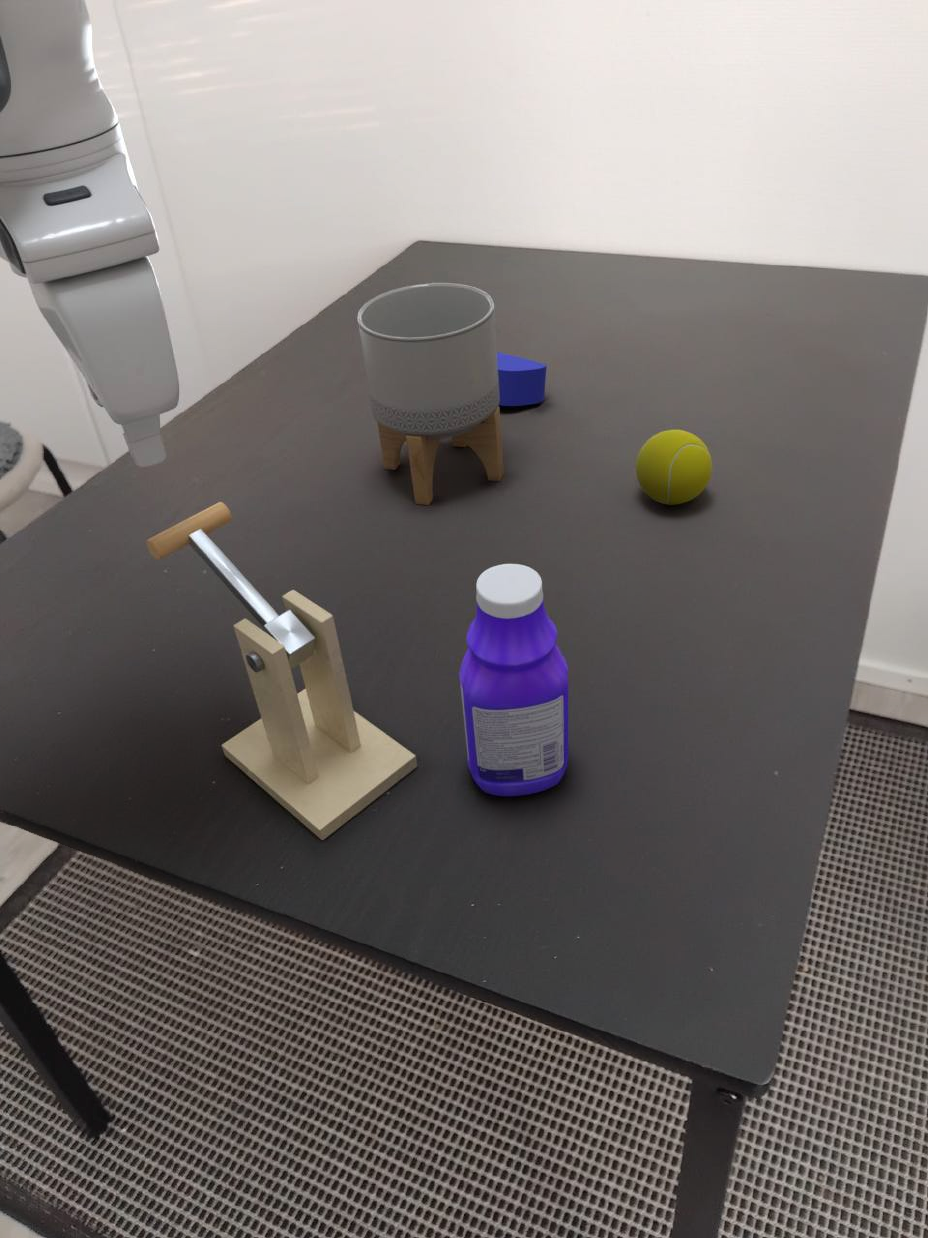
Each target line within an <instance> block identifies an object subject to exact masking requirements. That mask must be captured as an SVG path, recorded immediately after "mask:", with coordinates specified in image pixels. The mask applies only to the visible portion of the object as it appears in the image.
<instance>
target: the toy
mask: <svg viewBox="0 0 928 1238" xmlns="http://www.w3.org/2000/svg"><path fill="white" fill-rule="evenodd" d="M497 361H498V377H499V393H500V402H499V405H498V406H503V407H520V406H529V405H535V404H536V405H539V404H540V403H542V402H544V401H545V394H546V393H545V392H546V380H547V379H546V378H547V367H548V366H547V364H545V363H542V362H538V361H535V360H531V359H528V358H524V357H520V356H516V355H513V354H507V353H503V352H499V351H497Z"/></svg>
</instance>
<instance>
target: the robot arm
mask: <svg viewBox="0 0 928 1238" xmlns="http://www.w3.org/2000/svg"><path fill="white" fill-rule="evenodd" d="M160 247H161V246H160V241H159V237H158V233H157V230H156V225H155V223H154V219H153V217H152V215H151V213H150V211H149V208H148V206H147V205H146V203H145V200H144V199H143V197H142V196H141V194H140V191H139V187H138V183H137V180H136V177H135V173H134V170H133V166H132V164H131V161H130V157H129V154H128V151H127V146H126V144H125V140H124V136H123V133H122V129H121V125H120V122H119V117H118V115H117V113H116V109H115V107H114V105H113V104H112V101H111V100H110V98H109V96H108V95H107V93H106V91H105V90H104V87H103V86H102V83H101V81H100V78H99V75H98V73H97V69H96V66H95V61H94V55H93V29H92V22H91V18H90V14H89V11H88V7H87V4H86V0H0V259H2V260H4V261H6V263H9V264H8V265H9V267H10V269H11V271H12V272H13V273H14V274H15V275H17V276H18V277H22V278H26V279H27V281H28V284H29V287H30V290H31V294H32V296H33V298H34V301H35V303H36V306H37V308H38V309H39V311H40V314H41V316H42V317H43V319H45V322H46V323H47V324H48V326H49V327H50V329H51V330H52V332H53V333H54V334H55V336H56V337H57V339H58V341H59V342H60V344H61V345H62V347H63V348H64V350H65V351H66V352H67V354H68V355H69V357H70V358H71V360H72V362H73V363H74V364H75V366H76V367H77V369H78V370H79V372H80V374H81V375H82V377H83V378H84V379H85V382H86V384H87V387H88V390H89V393H90V396H91V397H92V399H93V400H94V403H96V404H97V405H98V406H99V407H100V408H103V409H105V411H106V413H107V415H108V416H109V418H110V419H111V420H112V421H113V422H114V423H115V424H117V425H120V426H121V429H122V434H123V437H124V438H123V439H124V441H125V443H126V447H127V448H128V452H129V454H130V456H131V458H132V460H133V461H134V463H135V465H136V466H138V467H139V468H142V469H145V468H149V467H152V466H155V465H158V464H161V463H163V462H164V461H165V460H166V458H167V451H166V448H165V447H166V446H165V444H164V441H163V438H162V434H161V417H160V416H161V414H166V413H168V412H170V411H172V410H174V409H175V408H177V407H178V404H179V400H180V381H179V374H178V368H177V364H176V363H177V362H176V359H175V354H174V349H173V344H172V340H171V335H170V330H169V325H168V320H167V315H166V311H165V310H166V309H165V306H164V302H163V297H162V293H161V289H160V286H159V282H158V278H157V276H156V273H155V269H154V267H153V265H152V261H151V260H150V259H149V256H152V255H156V254H158V253H159V252H160Z"/></svg>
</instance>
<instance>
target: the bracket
mask: <svg viewBox="0 0 928 1238" xmlns="http://www.w3.org/2000/svg"><path fill="white" fill-rule="evenodd" d="M281 597H282V602H283V605H284V610H285V612H286V611H288V610H291V611H292V612H293V613H294V615H295V616H296V617H297V618H298V619H299V620H300V621H301V622H302V623H303V625H304V626H305V627H306V628H307V629H308V630H309V631H310V632H311V633H312V634H313V636H314V637H315V638H316V639H315V644H314V649H313V654H312V656H311V657H309V658H308V659H306V660H305V661H303V662H302V663H300V664H299V668H300V673H301V676H302V679H303V683H304V687H305V688H304V689H302V690H301V691H299V692H297V688H296V684H295V680H294V677H293V673H292V669H290V665H289V661H288V658H287V654H286V650H285V646H284V645H282V644H281V643H279V642H278V641H277V640H275V639H274V638H272V637H271V636H270V635H268V634H267V633H265V632H264V631H263V629H261V628H260V627H258V626H257V625H256V624H254V623H253V622H252V621H250V620H249V619H247V618H245V617H244V618H243V619H241V620H239V621H238V622H236V623H235V624H233V629H234V632H235V636H236V638H237V643H238V645H239V649H240V653H241V656H242V658H243V663H244V666H245V669H246V672H247V676H248V678H249V682H250V685H251V688H252V689H251V690H252V692H253V695H254V699H255V702H256V705H257V709H258V712H259V715H260V718H259V719H258V720H257V721H255V722H253V723H252V724H251V725H249V726H248V727H246V728H245V729H243V730H242V731H240V732H239V733H237V734H236V735H235V736H233V737H231V738H229V739H228V740H227V741H226V742H223V743H222V744H221V748H222V751H223V753H224V756H225V757H226V758H227V759H228V760H229V761H231V762H232V763H233V764H234V765H235V766H236V767H237V768H239V770H241V771H242V772H243V773H244V774H246V776H247V777H249V779H251V780H252V781H254V782H255V783H256V784H257V785H258V786H259V787H260V788H261V789H262V790H263V791H265V792H266V793H267V794H268V795H269V796H270V797H271V798H273V799H274V800H275V801H276V802H277V803H279V804H280V805H281V806H282V807H283V808H284V809H285V810H287V811H288V812H289V813H290V814H291V815H292V816H293V817H294V818H296V819H297V820H298V821H299V822H300V823H301V824H303V825H304V827H306V828H307V829H308V830H310V832H312V833H313V835H315V836H316V837H317V838H319V839H320V840H321V841H325V840H326V839H327V838H328V837H329V836H331V835H332V834H333V833H335V832H336V831H337V830H338V829H340V828H341V827H342V826H343V825H345V824H346V823H348V821H350V820H351V819H352V818H353V817H355V816H356V815H358V814H359V813H360V812H362V811H363V810H364V809H365V808H366V807H368V806H369V805H370V804H372V802H374V801H376V800H377V799H378V798H379V797H380V796H382V795H383V794H384V793H386V792H387V791H388V790H389V789H391V788H392V787H393V786H394V785H396V784H397V783H398V782H400V781H401V780H402V779H403V778H405V777H406V776H407V775H408V774H410V773H411V772H412V771H413V770H415V769H416V768H418V761H417V756H416V754H414V753H413V752H411V751H410V750H408V749H407V748H406V747H404V745H402V744H400V743H399V742H397V740H395V739H394V738H392V737H391V736H390V735H387V733H386V732H384V731H383V730H381V729H380V728H379V727H377V726H376V725H374V724H373V723H371V722H370V721H369V720H367V719H366V718H365V717H363V716H362V715H361V714H359V713H358V712H357V711H355V710H354V707H353V702H352V697H351V692H350V688H349V683H348V679H347V678H348V677H347V674H346V669H345V665H344V660H343V656H342V651H341V647H340V642H339V638H338V633H337V628H336V624H335V619H334V615H333V614H332V613H330V612H329V611H327V610H326V609H324V608H322V607H321V606H319V605H318V604H316V603H315V602H313V601H311V600H310V599H309V598H308V597H306V596H304V595H302V594H301V593H299V592H297V591H296V590H295V589H292V590H290V591H288V592H286V593H285V594H283V595H282V596H281Z"/></svg>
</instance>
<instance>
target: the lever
mask: <svg viewBox="0 0 928 1238" xmlns="http://www.w3.org/2000/svg"><path fill="white" fill-rule="evenodd" d="M232 520H233V517H232V514H231V511H230V509H229V508H228V506H227V505H226V503H224V502H222V501H218V502H217V503H215V504H213V505H211V506H209V507H208V508H205V509H204V510H201V511H199V512H198V513H196V514H194V515H192V516H190V517H188V518H186V519H184V520H182V521H181V522H178V523H177V524H175V525H173V526H171V527H169V528H167V529H165V530H163V531H161V532H160V533H158V534H156V535H154V536H152V537H150V538H148V539H147V540H146V541H145V543H146V547H147V549H148V551H149V554H151V556H152V557H153V558H154V559H155V560H156V561H160V560H162V559H164V558H166V557H167V556H170V555H171V554H173V553H175V552H177V551H178V550H180V549H182V548H184V547H186V546H188V545H190V547H191V549H193V550H194V551H195V553H196V554H197V555H198V556H199V557H200V558H201V559H202V560H203V561H204V563H205V564H206V565H207V566H208V567H209V568H210V569H211V570H212V572H213V573H214V574H215V575H216V576H217V577H218V578H219V579H220V581H221V582H222V583H223V584H224V585H225V586H226V587H227V588H228V589H229V591H230V592H231V593H232V594H233V595H234V596H235V597H236V599H238V601H239V602H240V603H241V604H242V605H243V607H244V608H245V609H246V610H247V611H248V612H249V613H250V615H252V617H253V618H254V619H255V620H256V622H258V623H259V625H260V626H261V627H262V631H264V632H265V633H267V634H268V635H270V636H271V637H272V638H274V639H275V640H277V641H278V642H279V643H281V644H282V645H284V646H285V650H286V654H287V658H288V661H289V665H290V669H291V670H292V669H294V668H296V667H297V666H300V663H302V662H303V661H305V660H306V659H308V658H309V657H311V656H312V654H313V649H314V644H315V639H316V638H315V637H314V636H313V634H312V633H311V632H310V631H309V630H308V629H307V628H306V627H305V626H304V625H303V623H302V622H301V621H300V620H299V619H298V618H297V617H296V616H295V615H294V613H293V612H292V611H291V610H288V611H286V610H285V612H283V613H281V614H279V613H278V612H277V611H276V610H275V609H274V607H273V606H271V604H269V602H268V601H267V600H266V599H265V598H264V597H263V595H262V594H261V592H259V590H257V589H256V587H254V586H253V584H252V583H251V582H250V581H249V580H248V579H247V578H246V577H245V576H244V575H243V574H242V572H241V571H240V570H239V569H238V568H237V567H236V566H235V564H234V563H233V562H232V561H231V560H230V559H229V558H228V556H226V554H225V553H224V552H223V550H221V549H220V548H219V546H217V544H216V543H215V542H214V541H213V540H212V539H211V537H209V536H208V534H210V533H212V532H214V531H215V530H217V529H219V528H221V527H223V526H225V525H227V524H230V523H231V522H232Z"/></svg>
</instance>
